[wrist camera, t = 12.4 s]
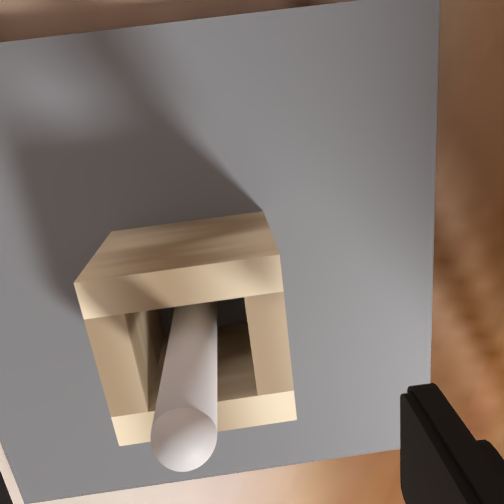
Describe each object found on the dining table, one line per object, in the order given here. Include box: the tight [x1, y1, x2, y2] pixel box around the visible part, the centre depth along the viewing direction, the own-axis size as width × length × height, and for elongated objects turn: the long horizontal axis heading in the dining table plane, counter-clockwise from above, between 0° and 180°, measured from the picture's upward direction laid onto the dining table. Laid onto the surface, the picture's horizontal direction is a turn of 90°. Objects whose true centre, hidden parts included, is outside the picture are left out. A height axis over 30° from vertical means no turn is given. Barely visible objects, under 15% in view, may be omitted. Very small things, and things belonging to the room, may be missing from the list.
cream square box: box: [74, 211, 297, 446], centre depth 17 cm, size 6×6×5 cm
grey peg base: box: [0, 0, 440, 504], centre depth 15 cm, size 20×20×10 cm
